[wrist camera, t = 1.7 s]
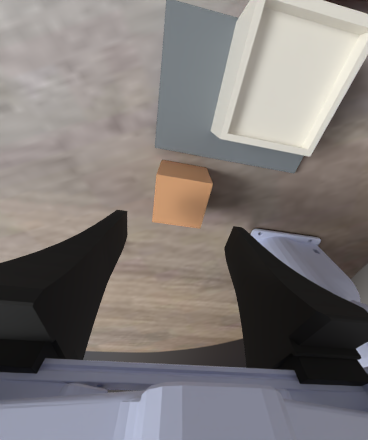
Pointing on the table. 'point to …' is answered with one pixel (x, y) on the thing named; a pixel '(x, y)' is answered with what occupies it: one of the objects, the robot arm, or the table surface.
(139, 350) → the table surface
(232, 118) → the cream base block
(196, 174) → the orange block
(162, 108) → the baseplate
